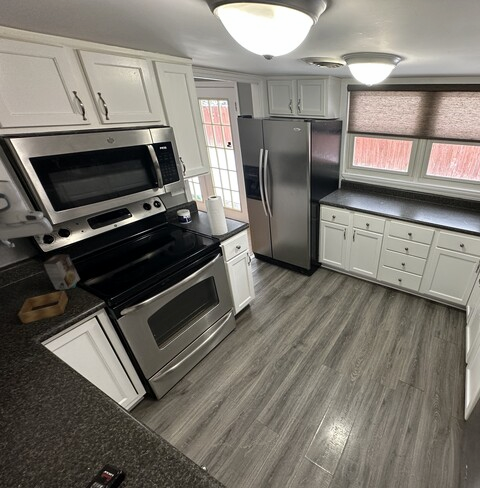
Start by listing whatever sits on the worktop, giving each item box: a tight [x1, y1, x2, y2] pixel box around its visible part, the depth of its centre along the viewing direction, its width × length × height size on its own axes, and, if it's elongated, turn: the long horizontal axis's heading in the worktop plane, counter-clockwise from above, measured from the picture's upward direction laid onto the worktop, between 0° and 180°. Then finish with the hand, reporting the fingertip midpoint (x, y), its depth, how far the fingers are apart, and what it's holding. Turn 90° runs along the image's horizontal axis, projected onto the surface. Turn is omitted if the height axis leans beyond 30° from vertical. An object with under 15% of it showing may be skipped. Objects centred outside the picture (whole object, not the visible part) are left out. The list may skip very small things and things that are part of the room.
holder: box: [17, 290, 69, 324], centre depth 122 cm, size 13×13×5 cm
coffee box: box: [42, 254, 81, 290], centre depth 137 cm, size 9×6×16 cm
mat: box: [59, 283, 77, 291], centre depth 141 cm, size 6×8×1 cm
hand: (26, 245), depth 121 cm, fingers open, 8 cm apart
